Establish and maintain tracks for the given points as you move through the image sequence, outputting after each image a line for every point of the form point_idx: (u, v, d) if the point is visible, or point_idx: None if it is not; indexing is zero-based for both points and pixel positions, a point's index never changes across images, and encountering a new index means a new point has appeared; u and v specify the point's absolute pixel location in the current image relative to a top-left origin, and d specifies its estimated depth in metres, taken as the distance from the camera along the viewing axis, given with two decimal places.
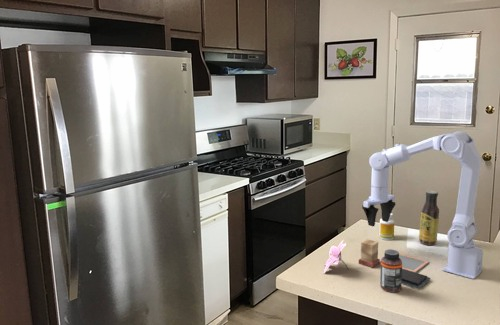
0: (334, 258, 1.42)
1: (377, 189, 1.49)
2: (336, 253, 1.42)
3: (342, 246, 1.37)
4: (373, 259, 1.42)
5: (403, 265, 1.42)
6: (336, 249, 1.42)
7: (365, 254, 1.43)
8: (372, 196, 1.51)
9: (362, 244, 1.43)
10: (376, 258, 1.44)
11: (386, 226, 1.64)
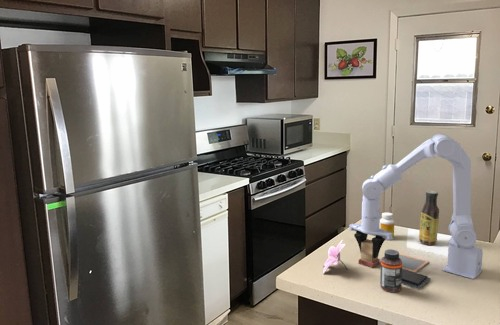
0: (333, 258, 1.41)
1: None
2: (335, 253, 1.42)
3: (341, 246, 1.37)
4: (373, 259, 1.42)
5: (403, 265, 1.42)
6: (335, 249, 1.42)
7: (365, 254, 1.43)
8: None
9: (362, 244, 1.43)
10: (376, 258, 1.44)
11: (386, 226, 1.64)
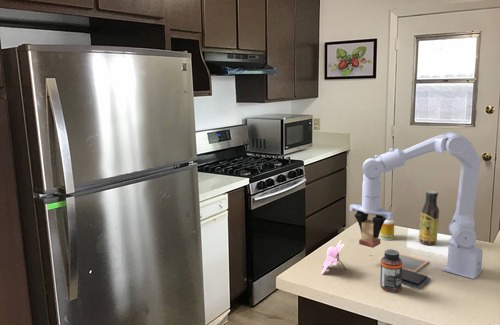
0: (332, 259, 1.41)
1: (362, 196, 1.42)
2: (334, 254, 1.41)
3: (340, 247, 1.37)
4: (374, 239, 1.41)
5: (403, 265, 1.42)
6: (334, 250, 1.42)
7: (366, 234, 1.42)
8: None
9: (363, 224, 1.42)
10: (377, 238, 1.43)
11: (386, 226, 1.64)
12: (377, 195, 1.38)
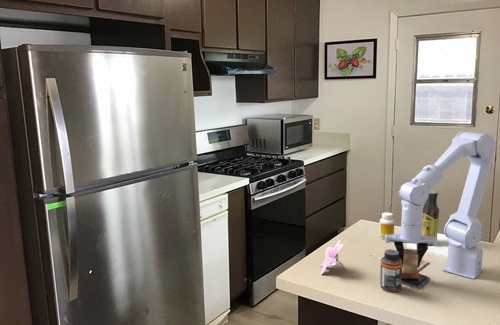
0: (331, 259, 1.41)
1: (402, 225, 1.29)
2: (333, 254, 1.41)
3: (339, 247, 1.37)
4: (416, 269, 1.30)
5: None
6: (333, 250, 1.42)
7: (409, 265, 1.29)
8: None
9: (405, 255, 1.29)
10: None
11: (386, 226, 1.64)
12: (421, 222, 1.27)
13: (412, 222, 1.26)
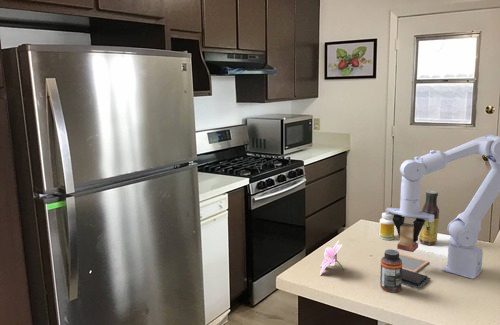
0: (330, 259, 1.41)
1: (400, 199, 1.37)
2: (331, 254, 1.41)
3: (338, 247, 1.36)
4: (413, 243, 1.37)
5: (403, 265, 1.42)
6: (331, 250, 1.41)
7: (405, 238, 1.37)
8: None
9: (401, 228, 1.37)
10: (415, 242, 1.38)
11: (386, 226, 1.64)
12: (417, 198, 1.34)
13: (406, 197, 1.34)
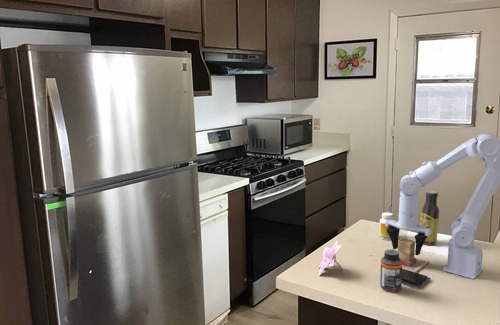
0: (328, 260, 1.40)
1: None
2: (330, 255, 1.41)
3: (337, 247, 1.36)
4: (410, 258, 1.42)
5: (403, 265, 1.42)
6: (330, 251, 1.41)
7: (402, 253, 1.42)
8: None
9: (399, 243, 1.42)
10: (413, 257, 1.43)
11: None
12: (414, 212, 1.38)
13: (402, 210, 1.39)
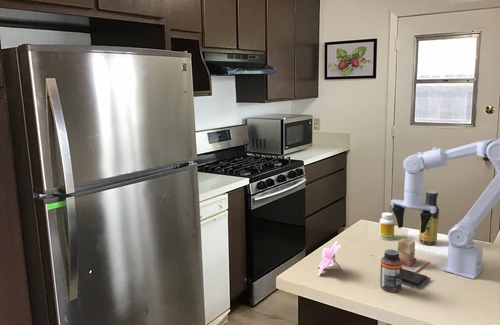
0: (328, 260, 1.40)
1: (404, 191, 1.44)
2: (329, 255, 1.40)
3: (336, 248, 1.36)
4: (410, 258, 1.42)
5: (403, 265, 1.42)
6: (329, 251, 1.41)
7: (402, 253, 1.42)
8: None
9: (399, 243, 1.42)
10: (413, 257, 1.43)
11: (386, 226, 1.64)
12: (417, 190, 1.40)
13: (406, 188, 1.42)
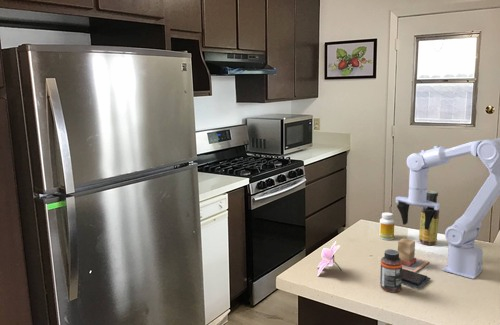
0: (327, 260, 1.40)
1: None
2: (329, 255, 1.40)
3: (335, 248, 1.36)
4: (410, 258, 1.42)
5: (403, 265, 1.42)
6: (329, 251, 1.41)
7: (402, 253, 1.42)
8: None
9: (399, 243, 1.42)
10: (413, 257, 1.43)
11: (386, 226, 1.64)
12: (419, 187, 1.44)
13: (409, 185, 1.47)
